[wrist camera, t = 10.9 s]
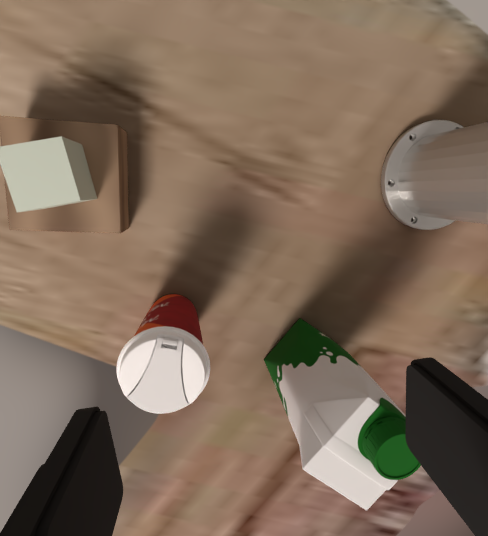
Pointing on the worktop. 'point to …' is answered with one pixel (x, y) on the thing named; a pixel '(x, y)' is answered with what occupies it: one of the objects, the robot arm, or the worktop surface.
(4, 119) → the walnut block
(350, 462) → the milk carton
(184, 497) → the worktop surface
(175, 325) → the paper cup
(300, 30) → the worktop surface
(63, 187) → the sage block
